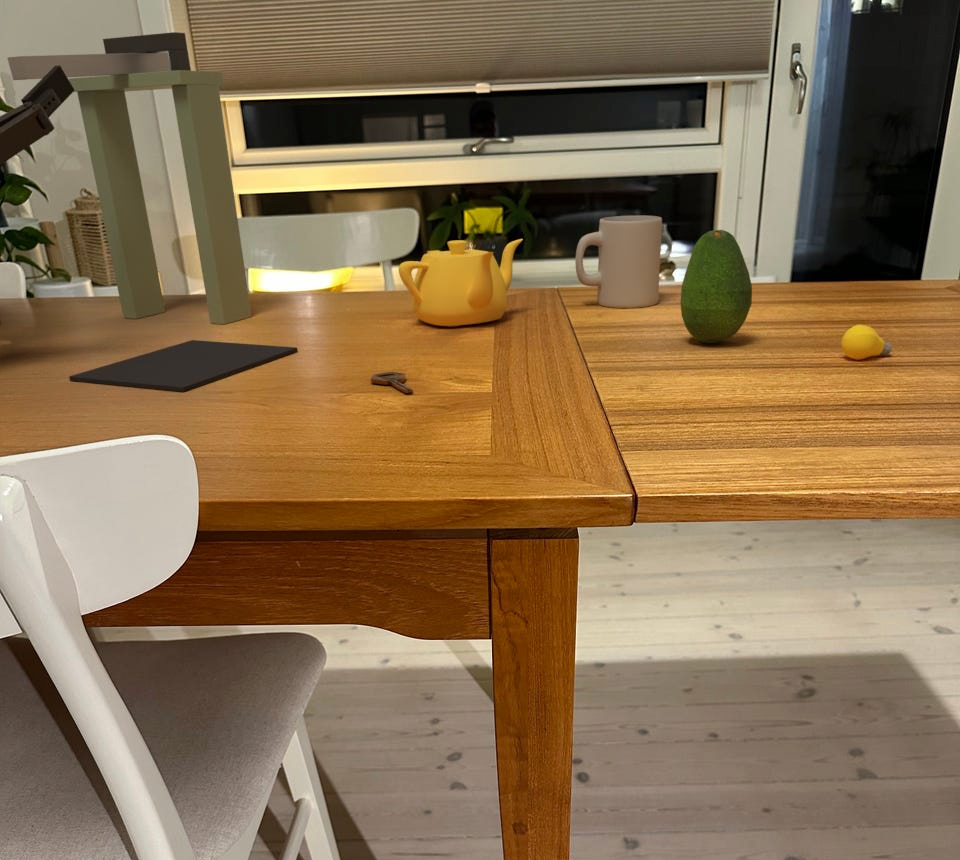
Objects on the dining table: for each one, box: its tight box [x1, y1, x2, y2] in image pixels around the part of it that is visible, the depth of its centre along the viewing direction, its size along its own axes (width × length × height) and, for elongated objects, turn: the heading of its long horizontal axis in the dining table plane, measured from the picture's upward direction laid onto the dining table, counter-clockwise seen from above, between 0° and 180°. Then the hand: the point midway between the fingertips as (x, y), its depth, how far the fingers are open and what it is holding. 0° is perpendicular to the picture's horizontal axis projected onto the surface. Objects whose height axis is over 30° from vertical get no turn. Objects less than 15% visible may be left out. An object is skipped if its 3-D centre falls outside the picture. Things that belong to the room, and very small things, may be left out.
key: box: [370, 371, 414, 394], centre depth 96 cm, size 4×8×1 cm, turn 26°
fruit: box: [679, 229, 753, 344], centre depth 107 cm, size 8×8×12 cm
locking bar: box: [6, 52, 171, 81], centre depth 116 cm, size 2×24×2 cm, turn 154°
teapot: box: [398, 238, 524, 328], centre depth 125 cm, size 14×13×10 cm
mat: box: [68, 339, 299, 393], centre depth 108 cm, size 16×20×1 cm
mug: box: [574, 215, 663, 309], centre depth 132 cm, size 12×8×11 cm
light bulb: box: [840, 324, 893, 361], centre depth 100 cm, size 3×6×4 cm, turn 108°
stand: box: [68, 31, 252, 325], centre depth 129 cm, size 18×8×34 cm, turn 64°
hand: (21, 81), depth 107 cm, fingers open, 13 cm apart
